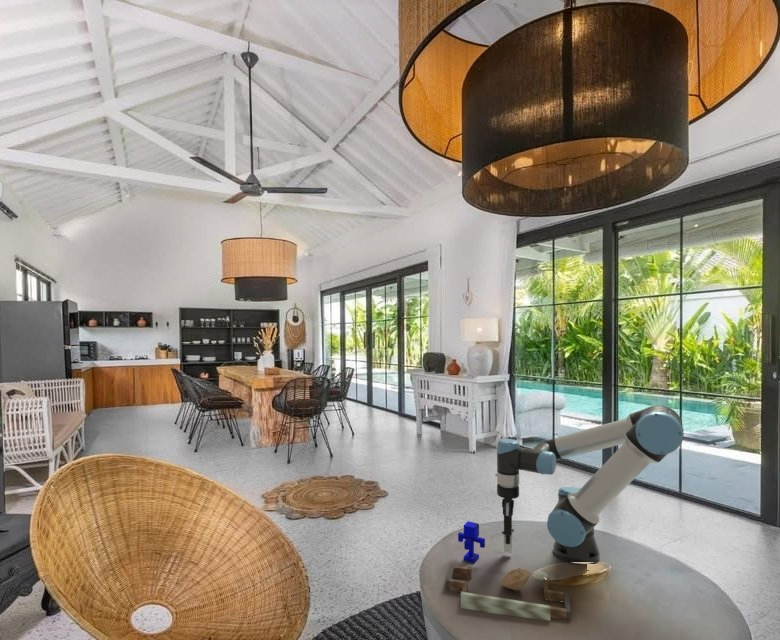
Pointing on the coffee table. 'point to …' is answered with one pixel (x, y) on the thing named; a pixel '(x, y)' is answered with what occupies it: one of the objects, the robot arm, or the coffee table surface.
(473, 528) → the figurine
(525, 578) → the pottery oil lamp
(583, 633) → the coffee table surface
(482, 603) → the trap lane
